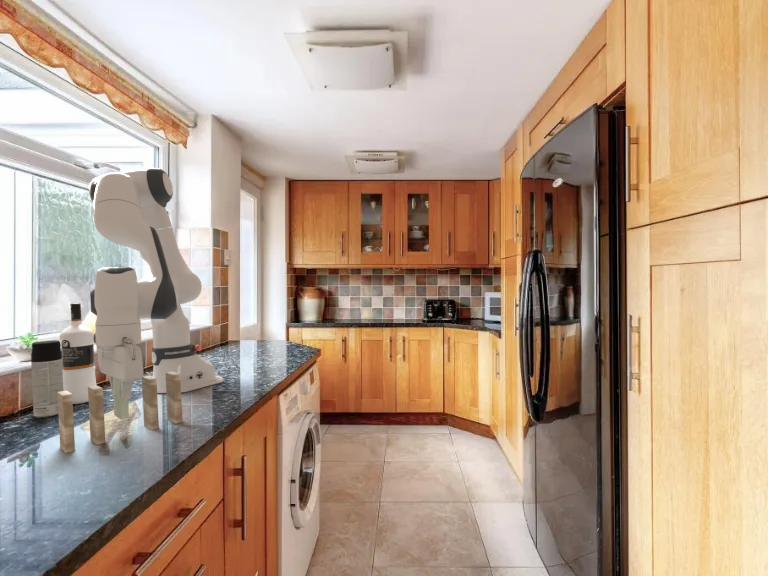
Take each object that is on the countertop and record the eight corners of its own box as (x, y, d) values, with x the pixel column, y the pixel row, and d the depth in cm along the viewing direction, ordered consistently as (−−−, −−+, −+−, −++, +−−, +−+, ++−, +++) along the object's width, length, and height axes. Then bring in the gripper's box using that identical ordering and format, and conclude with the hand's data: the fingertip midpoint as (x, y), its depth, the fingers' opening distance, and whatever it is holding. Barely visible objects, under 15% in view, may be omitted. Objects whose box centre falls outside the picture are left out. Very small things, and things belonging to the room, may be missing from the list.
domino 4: (151, 424, 104) (148, 375, 104) (158, 428, 100) (156, 378, 100) (144, 425, 103) (141, 376, 102) (151, 430, 99) (149, 379, 99)
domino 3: (122, 413, 99) (120, 362, 99) (128, 417, 96) (127, 365, 96) (114, 415, 98) (112, 363, 98) (120, 419, 95) (119, 366, 95)
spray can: (62, 408, 120) (59, 339, 120) (66, 413, 115) (62, 341, 115) (32, 414, 116) (28, 342, 115) (35, 419, 111) (31, 344, 110)
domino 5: (174, 418, 108) (172, 371, 108) (182, 421, 105) (180, 373, 104) (167, 419, 107) (165, 372, 106) (175, 423, 103) (173, 375, 103)
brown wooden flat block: (98, 437, 96) (96, 385, 95) (105, 442, 92) (102, 388, 92) (90, 439, 94) (87, 386, 94) (96, 444, 91) (94, 389, 91)
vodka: (105, 397, 131) (100, 301, 130) (74, 406, 122) (69, 303, 122) (85, 395, 134) (81, 302, 134) (54, 404, 126) (48, 304, 125)
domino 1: (69, 445, 92) (66, 390, 91) (75, 450, 88) (72, 393, 88) (60, 447, 90) (57, 392, 90) (65, 453, 87) (62, 395, 87)
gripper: (150, 337, 92) (152, 400, 92) (120, 332, 106) (123, 387, 106) (117, 341, 88) (119, 407, 88) (91, 335, 101) (93, 392, 101)
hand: (121, 396), depth 97 cm, fingers closed on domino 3, 5 cm apart
